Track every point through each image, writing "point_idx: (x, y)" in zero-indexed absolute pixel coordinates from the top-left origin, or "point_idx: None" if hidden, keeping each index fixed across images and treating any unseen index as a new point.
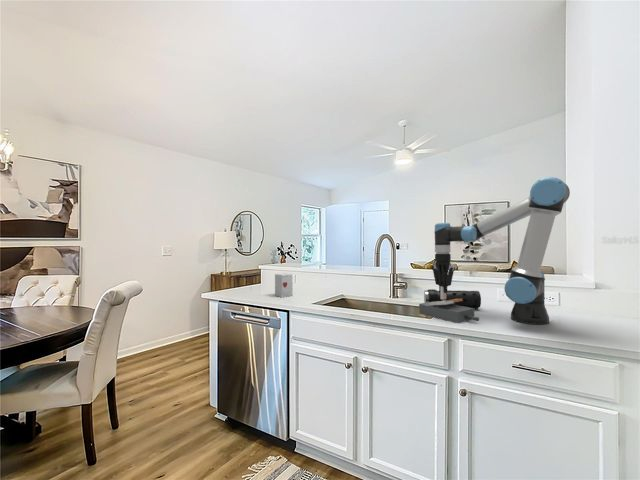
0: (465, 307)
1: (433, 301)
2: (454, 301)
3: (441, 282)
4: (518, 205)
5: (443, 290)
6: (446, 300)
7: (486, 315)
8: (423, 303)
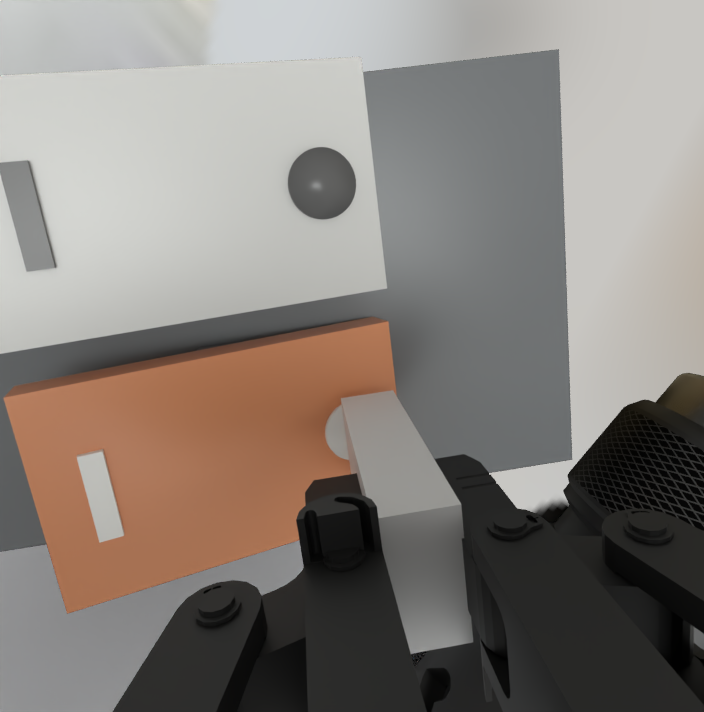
0: (19, 508)
1: (564, 403)
2: (25, 387)
3: (508, 641)
4: None
5: (363, 494)
6: (312, 446)
7: (78, 707)
8: (543, 143)
